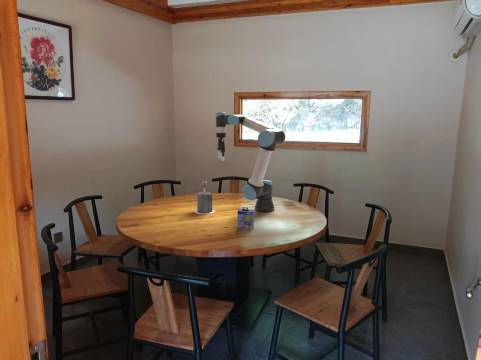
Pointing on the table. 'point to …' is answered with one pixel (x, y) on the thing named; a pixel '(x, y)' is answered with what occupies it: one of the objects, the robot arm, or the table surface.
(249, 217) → the ink cartridge box
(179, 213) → the table surface
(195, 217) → the table surface
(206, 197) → the grey piece
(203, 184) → the plunger
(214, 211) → the trivet
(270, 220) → the table surface
